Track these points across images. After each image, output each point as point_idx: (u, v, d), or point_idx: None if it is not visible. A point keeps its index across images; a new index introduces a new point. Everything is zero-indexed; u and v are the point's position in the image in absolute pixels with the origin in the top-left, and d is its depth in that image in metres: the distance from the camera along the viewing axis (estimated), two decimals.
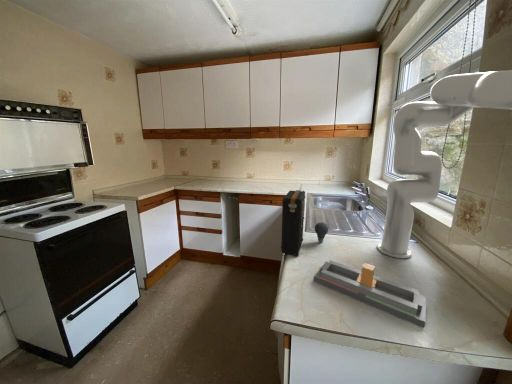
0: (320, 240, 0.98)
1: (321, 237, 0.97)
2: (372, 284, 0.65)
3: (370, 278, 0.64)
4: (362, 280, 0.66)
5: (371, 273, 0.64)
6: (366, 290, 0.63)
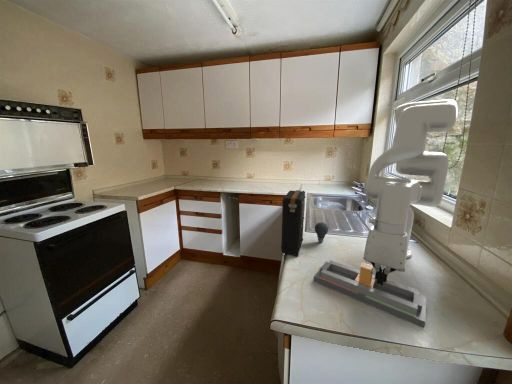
0: (320, 240, 0.98)
1: (321, 237, 0.97)
2: (371, 283, 0.65)
3: (369, 277, 0.65)
4: (361, 279, 0.66)
5: (370, 272, 0.64)
6: (366, 290, 0.63)
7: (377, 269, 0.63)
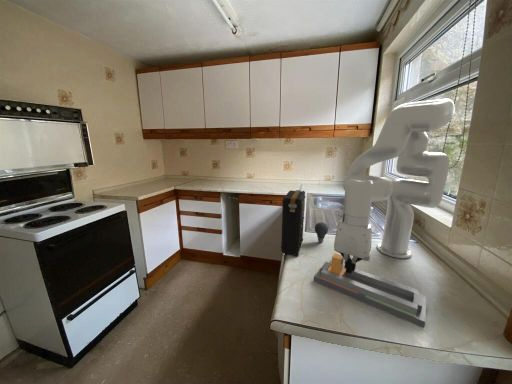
0: (320, 240, 0.98)
1: (321, 237, 0.97)
2: (341, 273, 0.70)
3: (339, 267, 0.70)
4: (332, 269, 0.72)
5: (339, 262, 0.69)
6: (366, 290, 0.63)
7: (346, 259, 0.68)
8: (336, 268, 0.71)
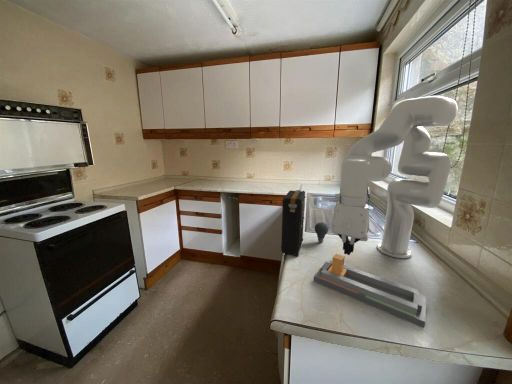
0: (320, 240, 0.98)
1: (321, 237, 0.97)
2: (342, 273, 0.70)
3: (340, 267, 0.70)
4: (333, 269, 0.71)
5: (340, 263, 0.69)
6: (366, 290, 0.63)
7: (344, 240, 0.68)
8: (337, 268, 0.70)
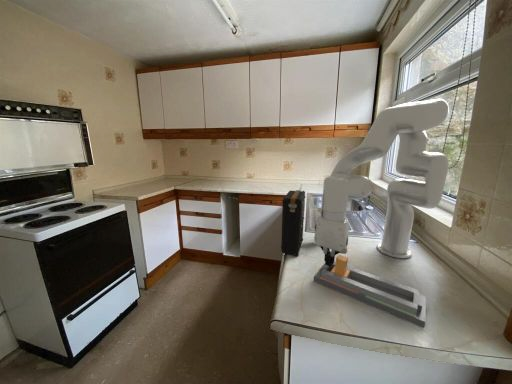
0: None
1: None
2: (345, 274, 0.70)
3: (343, 268, 0.69)
4: (336, 270, 0.71)
5: (344, 264, 0.69)
6: (366, 290, 0.63)
7: (325, 252, 0.72)
8: (340, 269, 0.70)
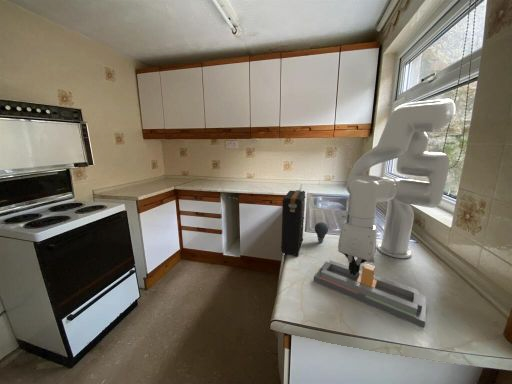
0: (320, 240, 0.98)
1: (321, 237, 0.97)
2: (372, 284, 0.65)
3: (370, 278, 0.64)
4: (362, 280, 0.66)
5: (371, 273, 0.64)
6: (366, 290, 0.63)
7: (350, 260, 0.68)
8: (367, 279, 0.65)
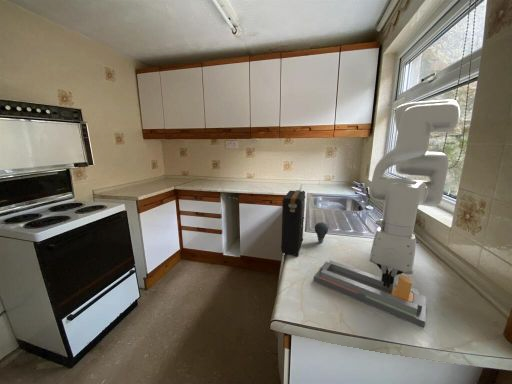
0: (320, 240, 0.98)
1: (321, 237, 0.97)
2: (410, 298, 0.59)
3: (408, 291, 0.59)
4: (398, 293, 0.60)
5: (409, 286, 0.58)
6: (366, 290, 0.63)
7: (384, 271, 0.62)
8: (404, 292, 0.59)
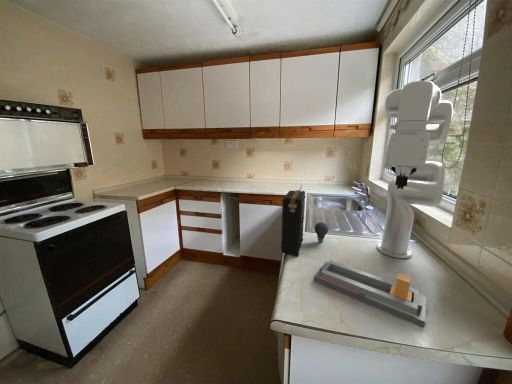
0: (320, 240, 0.98)
1: (321, 237, 0.97)
2: (408, 297, 0.59)
3: (406, 291, 0.59)
4: (396, 293, 0.61)
5: (407, 285, 0.58)
6: (366, 290, 0.63)
7: (398, 173, 0.66)
8: (402, 292, 0.60)
